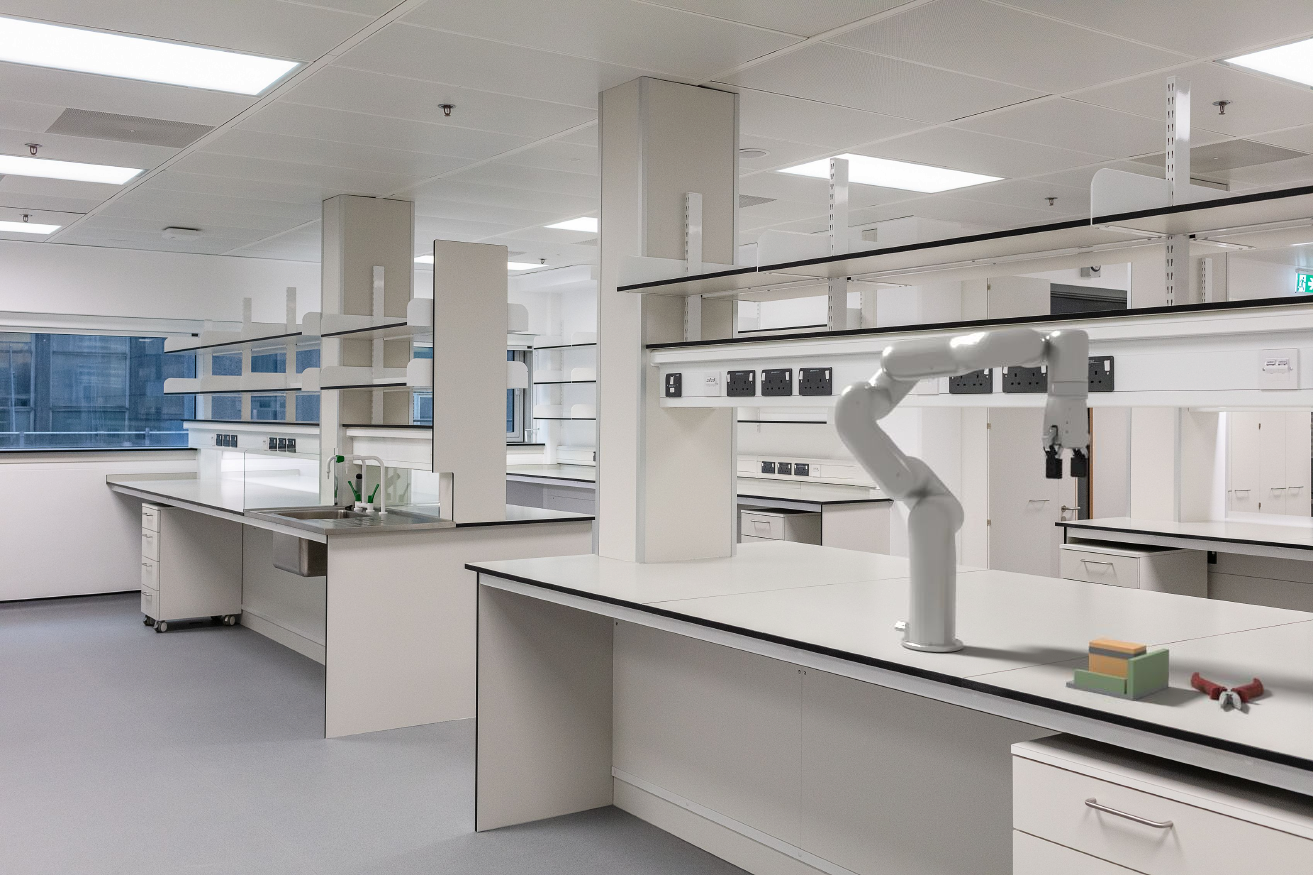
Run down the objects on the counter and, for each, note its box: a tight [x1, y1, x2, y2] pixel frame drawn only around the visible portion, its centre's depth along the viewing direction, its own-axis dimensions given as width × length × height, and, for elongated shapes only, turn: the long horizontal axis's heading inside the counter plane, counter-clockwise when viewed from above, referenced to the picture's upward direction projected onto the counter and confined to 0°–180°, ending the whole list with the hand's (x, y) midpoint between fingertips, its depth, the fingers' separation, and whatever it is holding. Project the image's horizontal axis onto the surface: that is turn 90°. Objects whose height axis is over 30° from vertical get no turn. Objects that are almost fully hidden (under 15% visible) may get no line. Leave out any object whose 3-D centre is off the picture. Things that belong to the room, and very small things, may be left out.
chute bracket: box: [1065, 648, 1170, 701], centre depth 189 cm, size 12×14×7 cm
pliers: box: [1190, 672, 1265, 710], centre depth 182 cm, size 12×20×3 cm, turn 154°
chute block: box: [1088, 637, 1148, 679], centre depth 189 cm, size 8×5×7 cm, turn 42°
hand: (1066, 477), depth 210 cm, fingers open, 9 cm apart
